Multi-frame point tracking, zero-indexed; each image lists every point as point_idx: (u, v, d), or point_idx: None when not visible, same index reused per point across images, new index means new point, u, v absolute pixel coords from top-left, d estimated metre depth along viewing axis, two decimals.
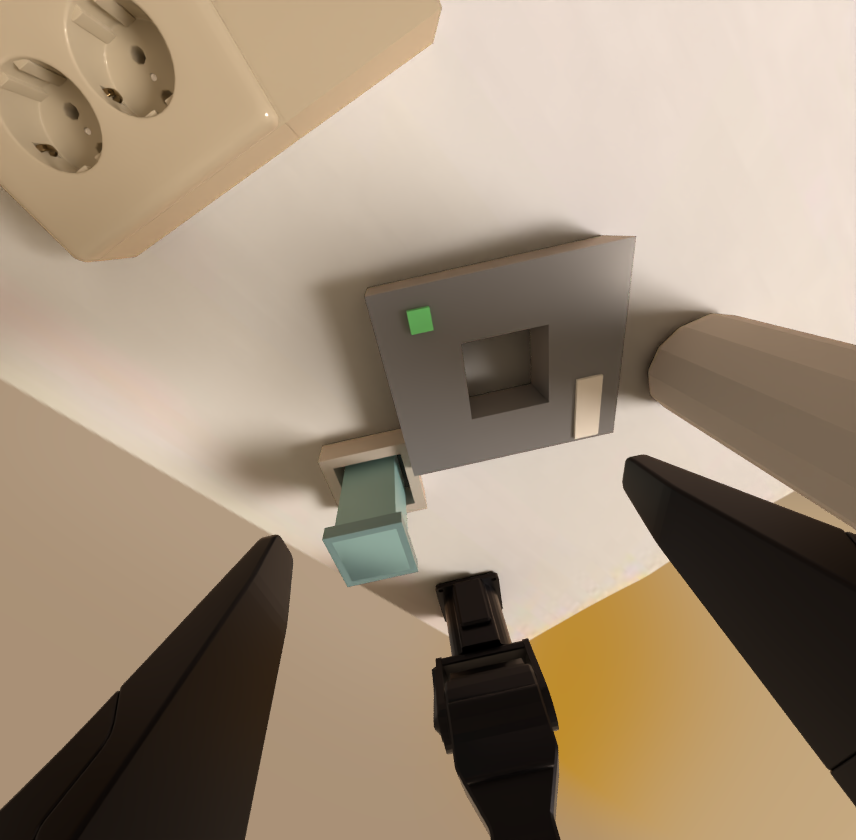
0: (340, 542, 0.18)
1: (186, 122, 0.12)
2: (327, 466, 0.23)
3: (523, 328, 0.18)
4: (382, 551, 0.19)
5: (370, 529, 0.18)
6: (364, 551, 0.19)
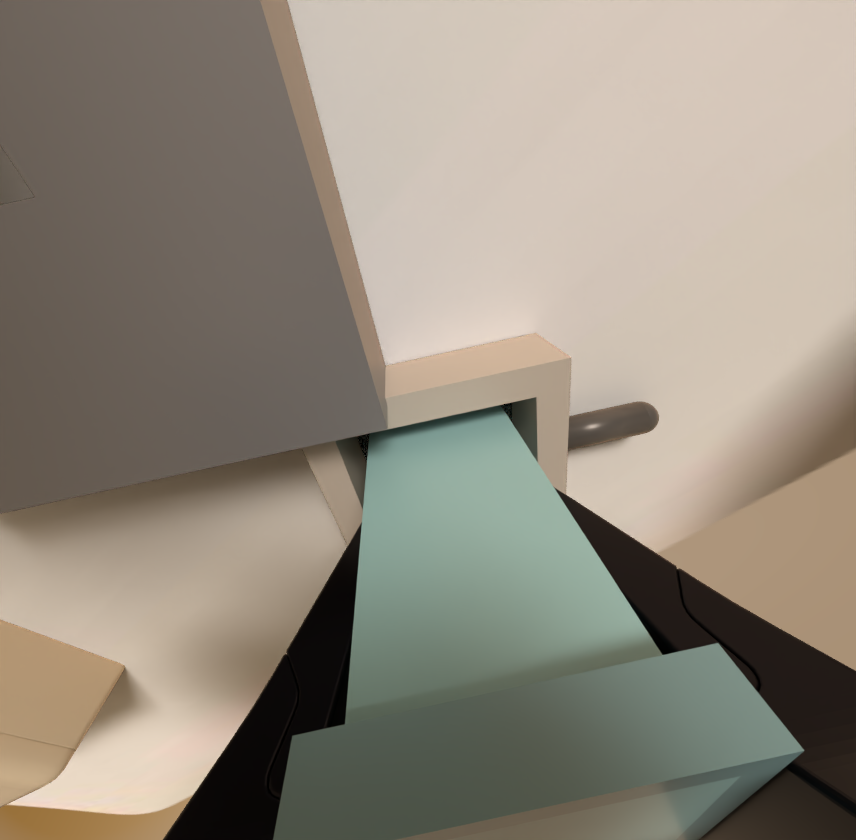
0: None
1: None
2: None
3: None
4: None
5: None
6: None
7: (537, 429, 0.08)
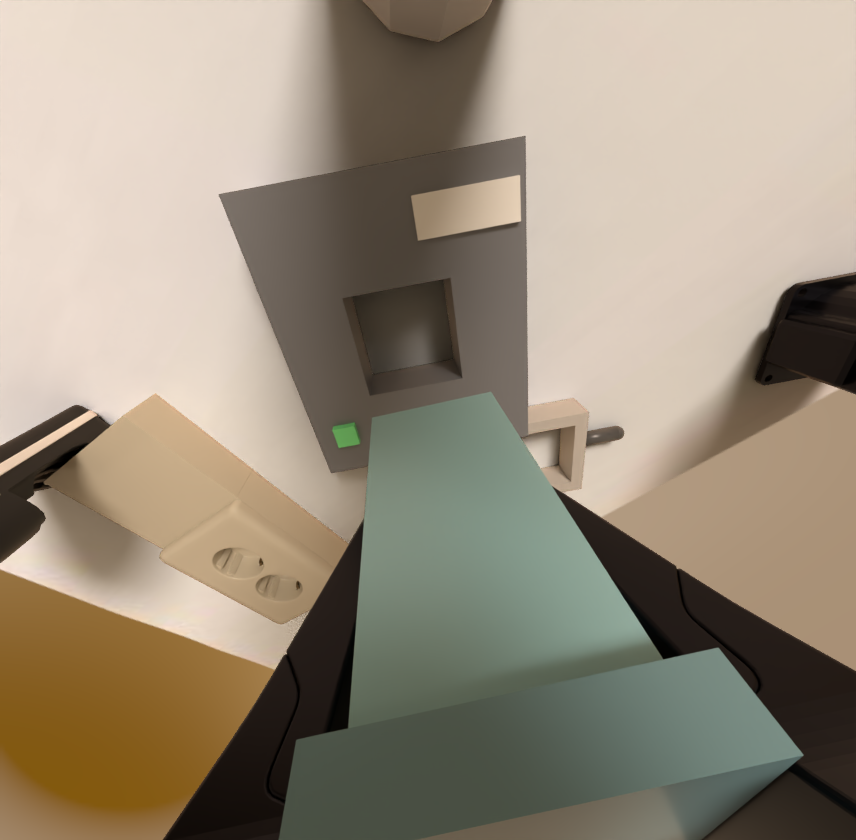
0: None
1: (255, 545, 0.21)
2: None
3: (349, 329, 0.16)
4: None
5: None
6: None
7: (574, 437, 0.21)
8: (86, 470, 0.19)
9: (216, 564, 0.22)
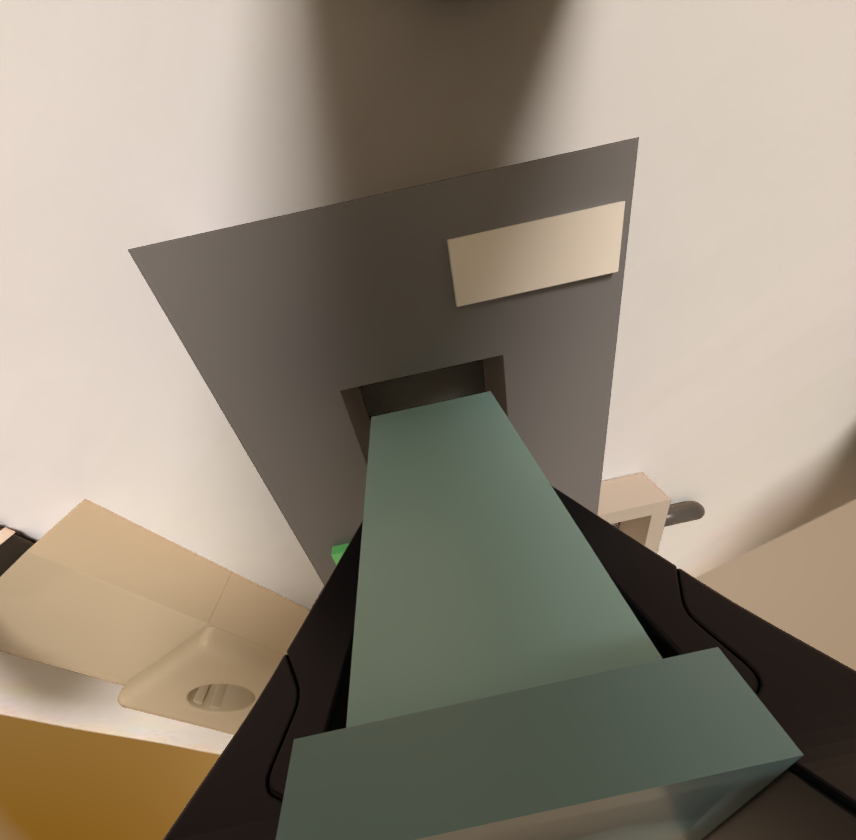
0: None
1: (240, 679, 0.16)
2: None
3: (351, 430, 0.11)
4: None
5: None
6: None
7: (648, 527, 0.16)
8: None
9: (193, 700, 0.17)
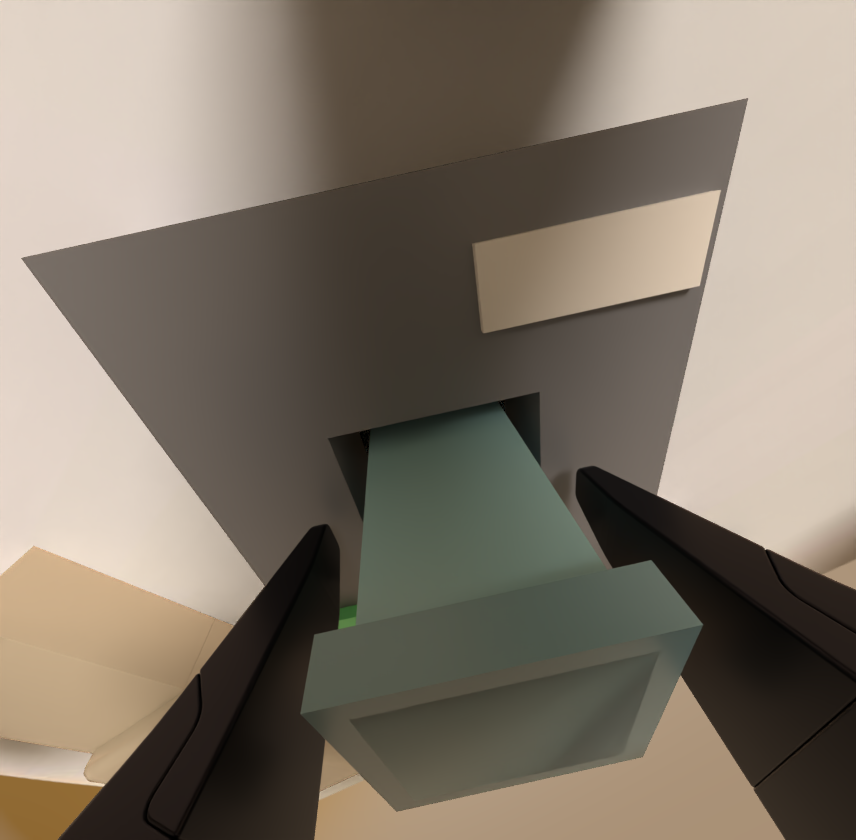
0: (415, 792, 0.05)
1: None
2: None
3: (343, 485, 0.08)
4: (492, 727, 0.04)
5: (355, 762, 0.04)
6: (477, 757, 0.05)
7: None
8: None
9: None
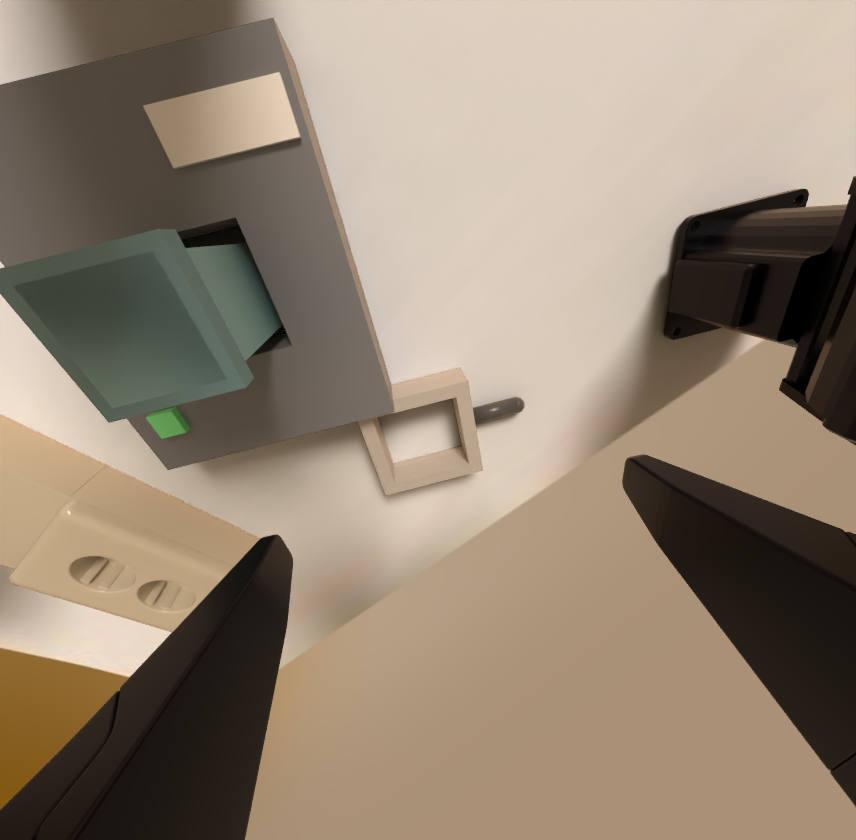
0: (106, 395, 0.10)
1: (111, 550, 0.18)
2: (391, 487, 0.21)
3: None
4: (106, 317, 0.09)
5: (42, 339, 0.09)
6: (120, 354, 0.09)
7: (459, 411, 0.19)
8: None
9: (80, 579, 0.19)
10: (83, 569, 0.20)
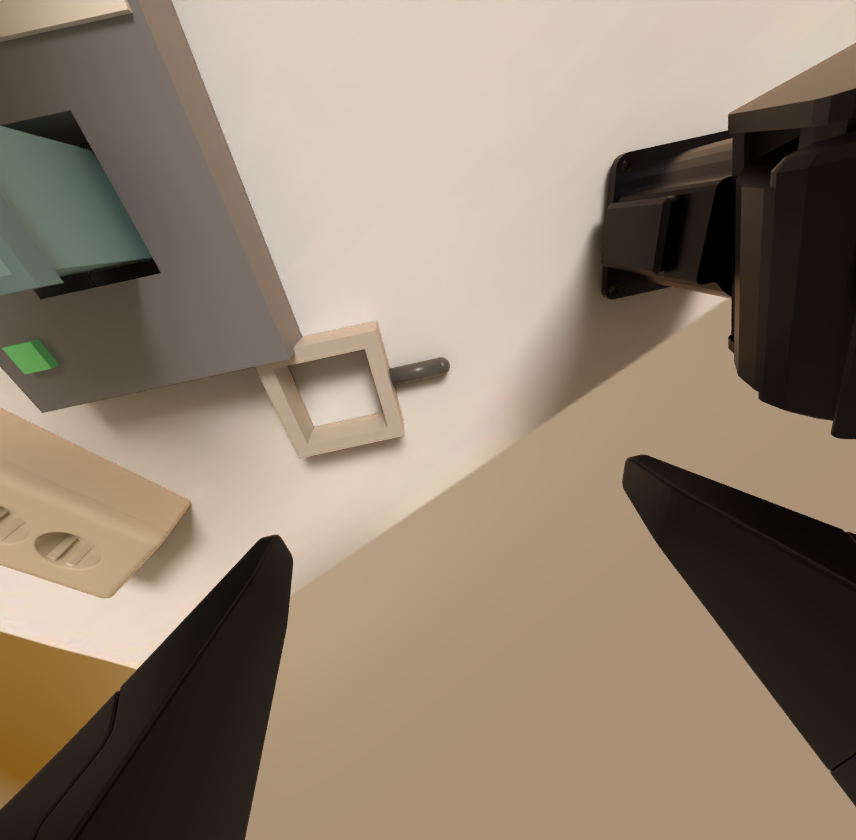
0: None
1: None
2: (304, 450, 0.19)
3: None
4: None
5: None
6: None
7: (370, 365, 0.17)
8: None
9: None
10: None
